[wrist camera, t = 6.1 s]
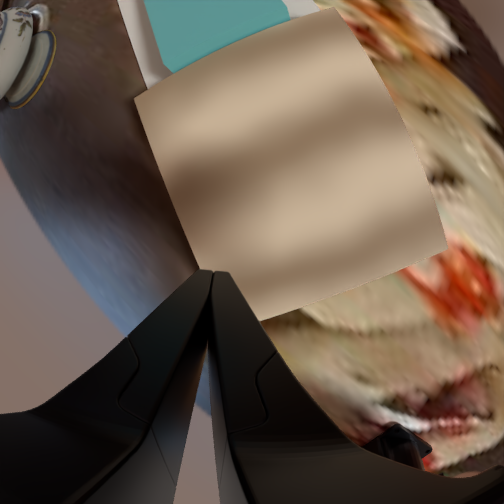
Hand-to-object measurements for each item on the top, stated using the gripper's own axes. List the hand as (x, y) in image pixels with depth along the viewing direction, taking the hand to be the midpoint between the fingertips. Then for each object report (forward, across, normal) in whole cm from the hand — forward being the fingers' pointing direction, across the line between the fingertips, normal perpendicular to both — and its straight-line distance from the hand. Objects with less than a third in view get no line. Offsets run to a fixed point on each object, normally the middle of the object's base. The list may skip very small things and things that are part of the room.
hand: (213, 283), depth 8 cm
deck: (+12, -4, -1) cm, 12 cm away
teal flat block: (+16, +4, -12) cm, 20 cm away
